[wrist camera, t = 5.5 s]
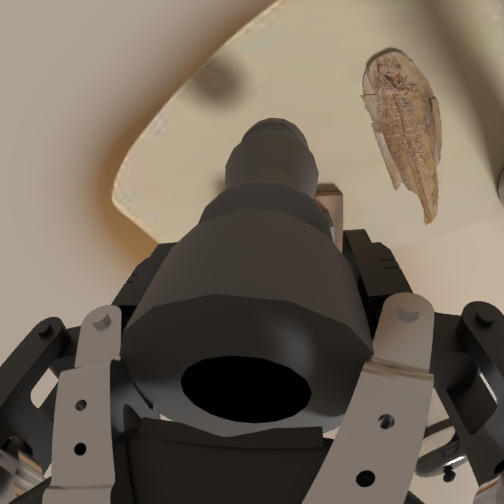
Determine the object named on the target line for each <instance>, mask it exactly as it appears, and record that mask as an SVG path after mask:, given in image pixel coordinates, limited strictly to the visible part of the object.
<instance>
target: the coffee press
mask: <svg viewBox="0 0 504 504" xmlns="http://www.w3.org/2000/svg"><path fill="white" fill-rule="evenodd" d="M466 461H468V458H467V456H466V453H465V451H464V449H463V446H462V444H461V442H460V440H459V438H458V435H457V433H456V431H455V429H454V427H453V425H452V423H451V421H450V418H449V416H448V414H447V412H446V410H445V408H444V406H443V404H442V402H441V400H440V398H439V396H438V395H437V393H436V391H435V388H433V390H432V396H431V402H430V408H429V413H428V418H427V423H426V428H425V432H424V437H423V441H422V445H421V449H420V453H419V456H418V460H417V464H416V467H415V470H414V472H415V474H416V475H417V476H420V477H426V478H427V477H434V476H437V475H441V474H444V473H445V475H444V477H443V480H444V481H445V482H451V481H453V480H454V478H455V475H456V474H455V473H454V472H453V471H451V470H453V469H455V468H457V467H459V466H461V465H462V464H464V463H465V462H466Z"/></svg>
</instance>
